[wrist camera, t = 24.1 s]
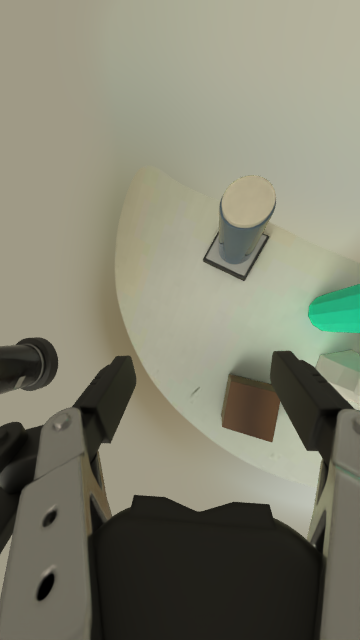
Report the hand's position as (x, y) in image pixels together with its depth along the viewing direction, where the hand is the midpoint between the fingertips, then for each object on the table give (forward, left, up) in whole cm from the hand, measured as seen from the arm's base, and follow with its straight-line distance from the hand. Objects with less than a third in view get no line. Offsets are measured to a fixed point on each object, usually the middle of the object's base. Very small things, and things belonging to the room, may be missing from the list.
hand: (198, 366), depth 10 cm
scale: (+1, +16, -21) cm, 27 cm away
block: (+8, -8, -21) cm, 24 cm away
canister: (+1, +16, -20) cm, 26 cm away
